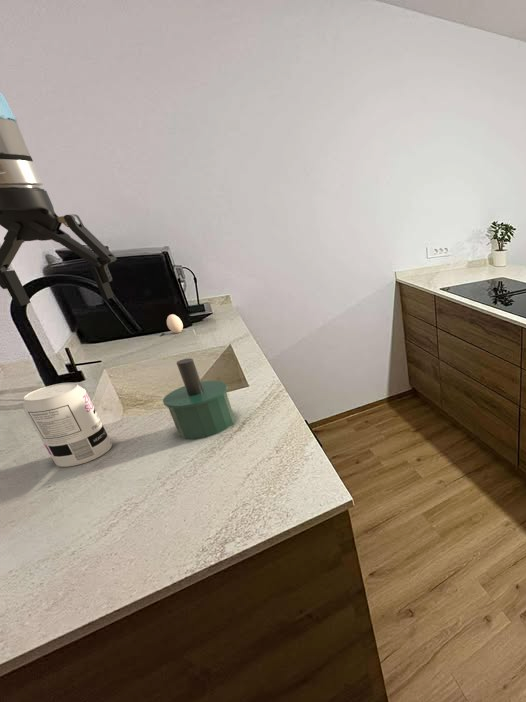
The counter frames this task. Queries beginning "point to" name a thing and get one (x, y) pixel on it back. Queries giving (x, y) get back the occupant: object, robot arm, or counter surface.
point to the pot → (203, 418)
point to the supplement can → (67, 423)
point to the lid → (193, 388)
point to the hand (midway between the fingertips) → (67, 301)
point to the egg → (174, 323)
